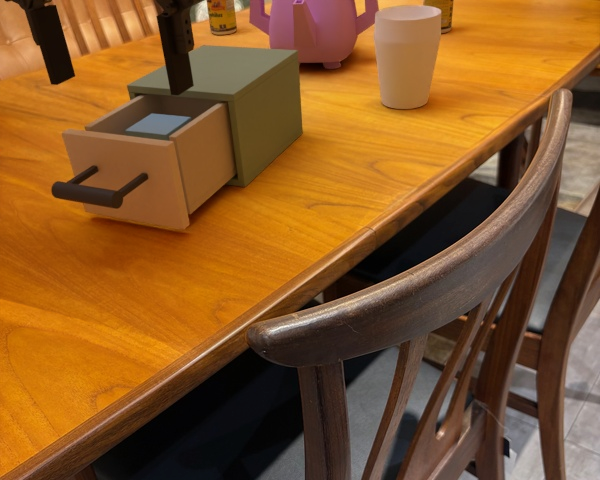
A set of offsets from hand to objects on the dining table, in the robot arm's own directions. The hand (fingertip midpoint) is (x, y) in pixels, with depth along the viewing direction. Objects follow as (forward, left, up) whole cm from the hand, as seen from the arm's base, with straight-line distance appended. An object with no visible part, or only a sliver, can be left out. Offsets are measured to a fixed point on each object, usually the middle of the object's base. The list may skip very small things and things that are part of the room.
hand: (120, 85), depth 58 cm
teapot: (-4, +57, -14) cm, 59 cm away
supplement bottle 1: (-31, +72, -14) cm, 80 cm away
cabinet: (0, +17, -14) cm, 22 cm away
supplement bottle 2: (+12, +80, -14) cm, 82 cm away
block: (0, +4, -12) cm, 13 cm away
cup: (+17, +40, -14) cm, 45 cm away
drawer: (0, +2, -13) cm, 13 cm away
